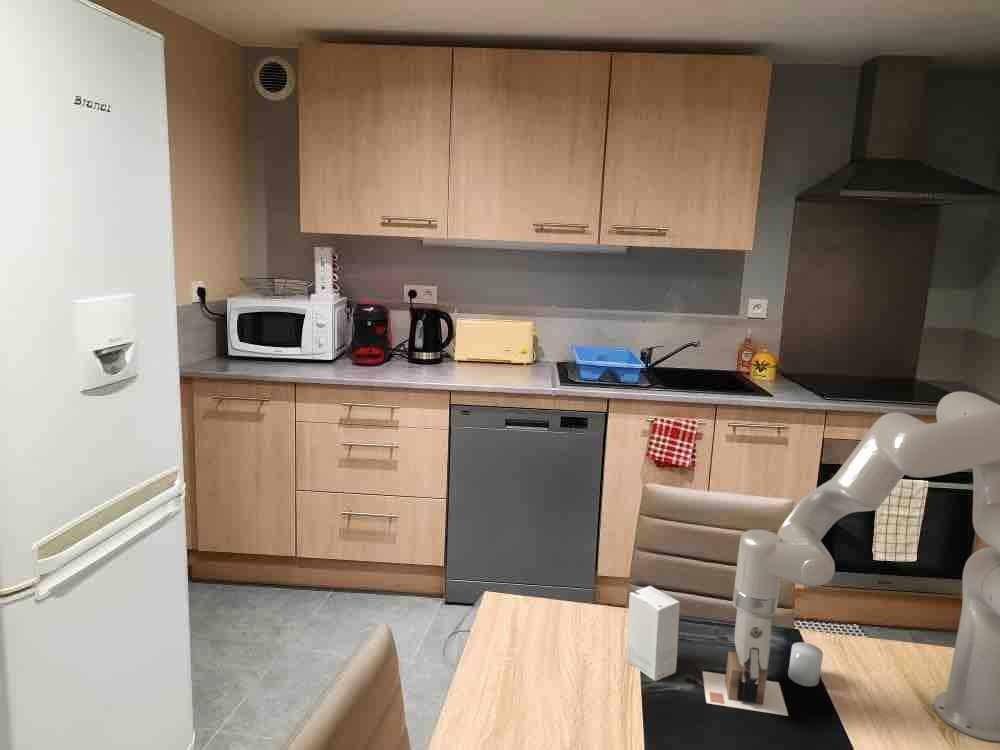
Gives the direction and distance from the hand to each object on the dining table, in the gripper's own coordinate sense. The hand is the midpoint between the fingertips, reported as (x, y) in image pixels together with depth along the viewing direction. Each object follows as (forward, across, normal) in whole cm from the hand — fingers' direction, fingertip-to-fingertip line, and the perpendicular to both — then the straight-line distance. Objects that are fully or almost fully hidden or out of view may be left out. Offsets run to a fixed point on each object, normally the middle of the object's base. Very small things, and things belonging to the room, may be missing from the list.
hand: (743, 688), depth 138 cm
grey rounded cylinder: (+1, +8, -12) cm, 14 cm away
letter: (+1, 0, 0) cm, 1 cm away
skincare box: (+1, +4, +17) cm, 18 cm away
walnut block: (+1, 0, 0) cm, 1 cm away
